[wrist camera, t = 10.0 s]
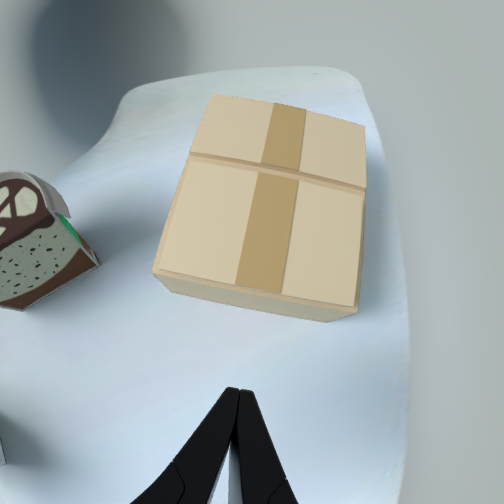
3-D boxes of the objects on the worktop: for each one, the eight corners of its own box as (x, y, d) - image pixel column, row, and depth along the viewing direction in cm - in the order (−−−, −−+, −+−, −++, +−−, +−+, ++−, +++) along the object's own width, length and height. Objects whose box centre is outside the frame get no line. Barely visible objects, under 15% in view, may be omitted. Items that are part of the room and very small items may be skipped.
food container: (95, 199, 24) (44, 130, 15) (115, 257, 23) (54, 201, 13) (0, 260, 21) (-66, 221, 12) (12, 317, 20) (-65, 295, 10)
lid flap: (350, 307, 16) (354, 306, 16) (160, 270, 16) (158, 267, 16) (359, 199, 18) (363, 195, 17) (191, 164, 18) (190, 160, 17)
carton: (326, 322, 22) (361, 311, 16) (171, 292, 22) (148, 269, 16) (340, 169, 26) (366, 125, 20) (214, 143, 26) (211, 92, 20)
